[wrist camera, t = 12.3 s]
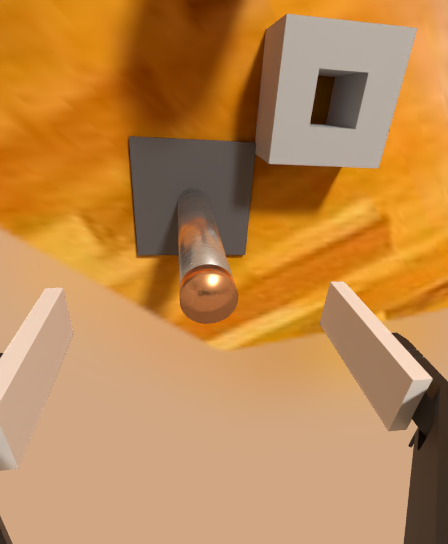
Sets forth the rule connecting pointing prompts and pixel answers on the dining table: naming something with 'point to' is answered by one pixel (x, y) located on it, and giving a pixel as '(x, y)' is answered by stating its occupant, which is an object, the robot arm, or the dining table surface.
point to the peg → (202, 262)
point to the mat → (190, 175)
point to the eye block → (345, 95)
